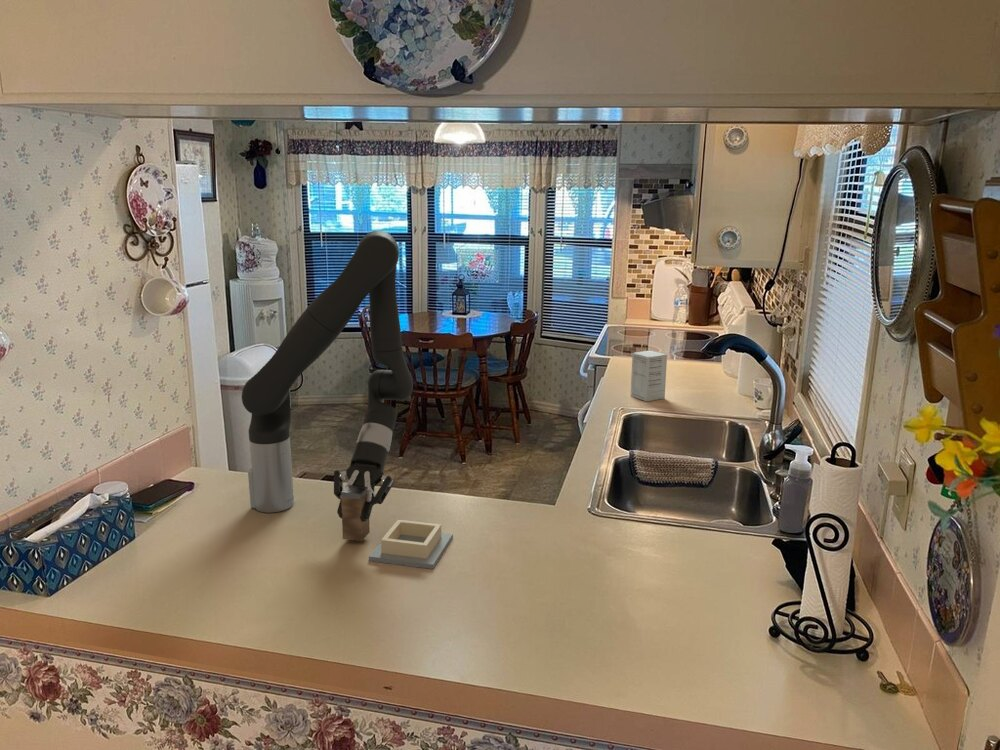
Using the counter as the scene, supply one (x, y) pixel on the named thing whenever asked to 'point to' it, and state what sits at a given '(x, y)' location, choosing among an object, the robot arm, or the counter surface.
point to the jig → (412, 544)
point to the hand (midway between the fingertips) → (352, 518)
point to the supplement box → (648, 375)
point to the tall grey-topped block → (354, 513)
